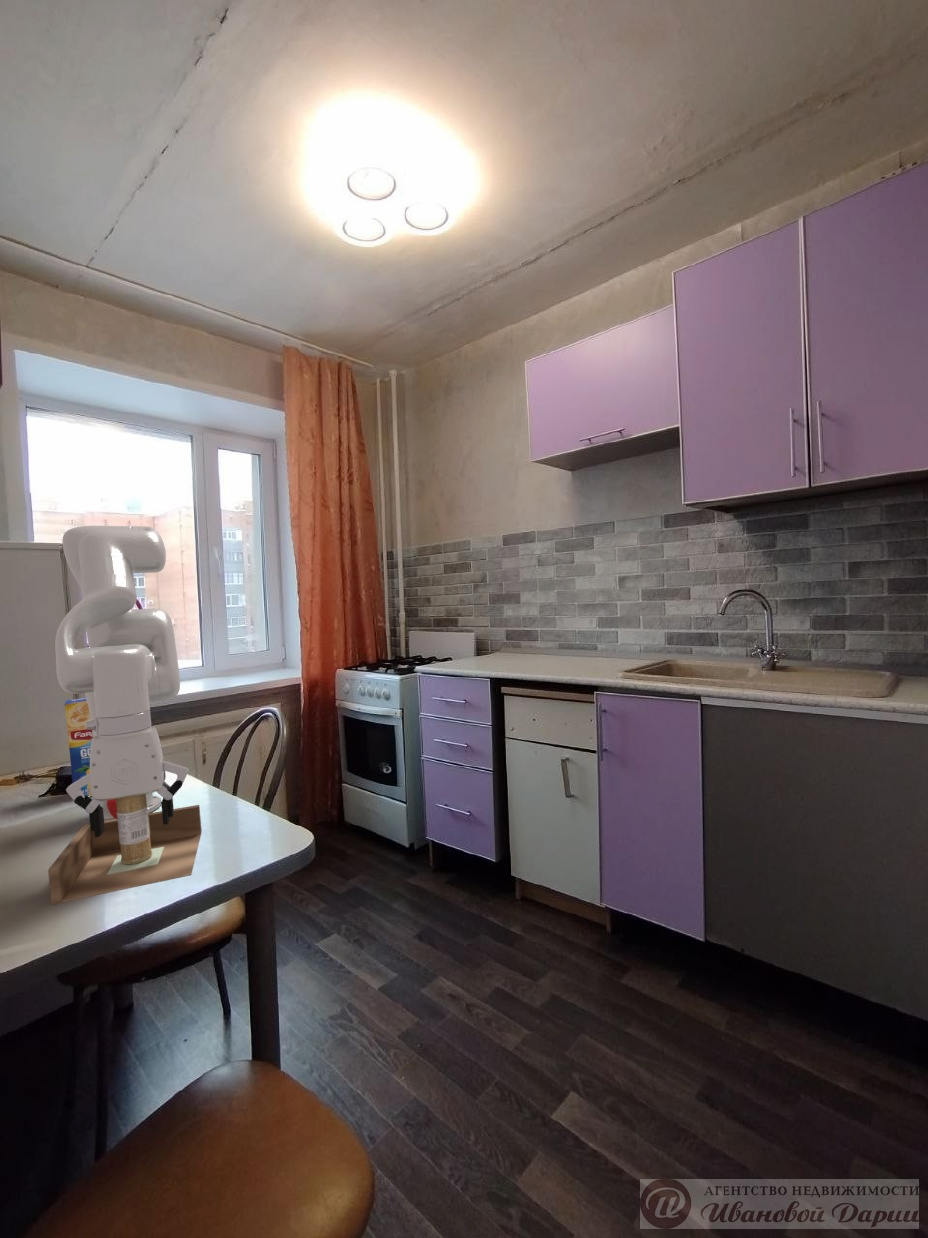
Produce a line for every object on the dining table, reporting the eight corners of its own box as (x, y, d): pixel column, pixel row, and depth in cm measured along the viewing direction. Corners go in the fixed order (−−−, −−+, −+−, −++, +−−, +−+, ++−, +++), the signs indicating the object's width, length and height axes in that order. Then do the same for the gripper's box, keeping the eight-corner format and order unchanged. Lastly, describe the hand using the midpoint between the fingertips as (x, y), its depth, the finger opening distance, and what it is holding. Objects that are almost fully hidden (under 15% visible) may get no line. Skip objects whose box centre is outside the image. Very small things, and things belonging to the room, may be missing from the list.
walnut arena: (87, 856, 97) (84, 824, 97) (201, 834, 103) (199, 804, 103) (51, 908, 80) (48, 869, 80) (191, 878, 87) (188, 842, 86)
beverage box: (129, 788, 134) (121, 696, 133) (73, 800, 128) (64, 704, 127) (128, 781, 140) (120, 693, 139) (74, 792, 134) (65, 700, 133)
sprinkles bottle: (151, 850, 96) (144, 772, 96) (153, 859, 92) (146, 778, 92) (119, 858, 94) (112, 778, 93) (120, 868, 90) (113, 785, 89)
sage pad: (117, 856, 95) (117, 855, 95) (164, 847, 97) (164, 846, 97) (107, 875, 88) (107, 873, 88) (157, 865, 91) (157, 863, 91)
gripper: (53, 737, 85) (64, 848, 86) (180, 721, 91) (189, 825, 92) (69, 727, 92) (79, 830, 93) (186, 713, 98) (194, 810, 99)
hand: (134, 827), depth 93 cm, fingers open, 9 cm apart
